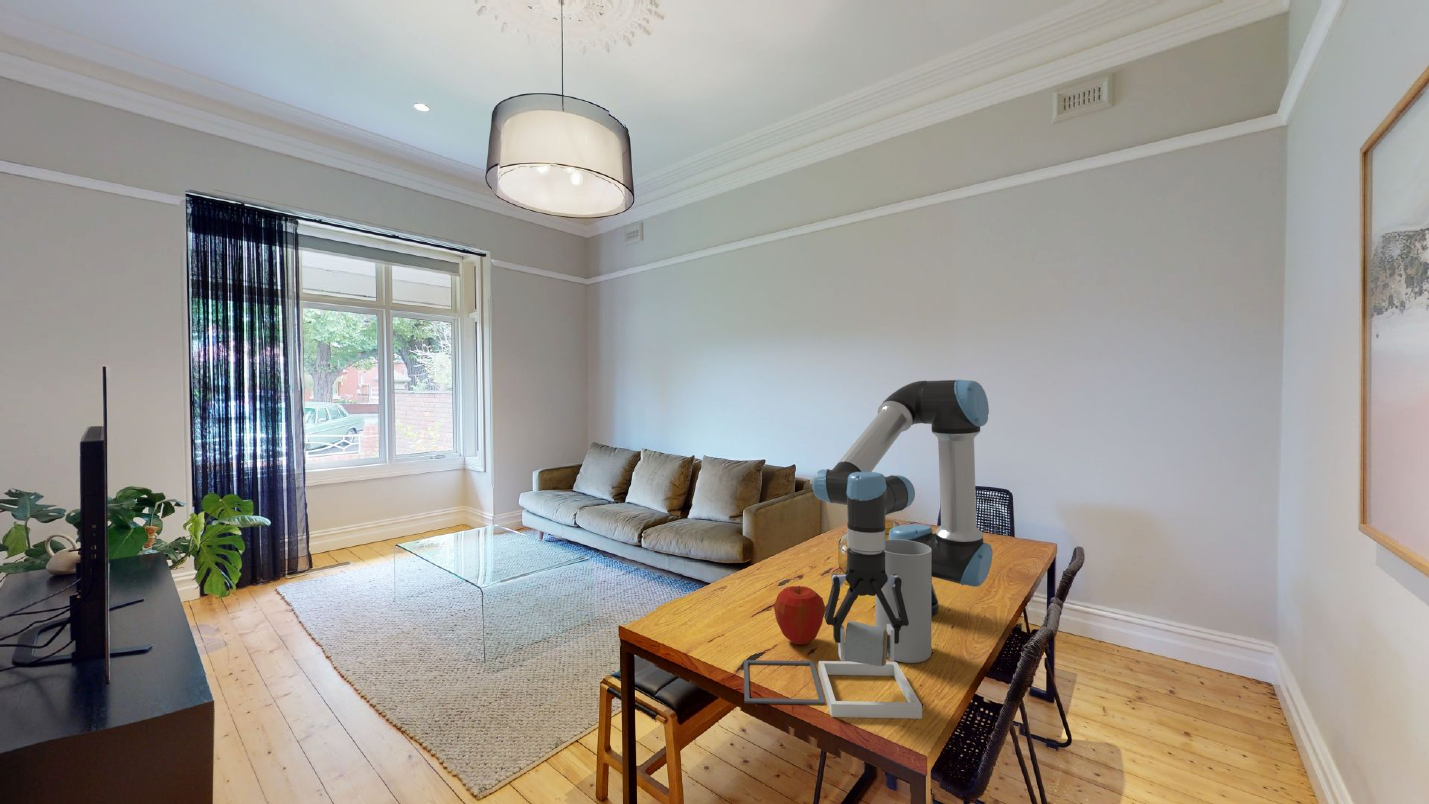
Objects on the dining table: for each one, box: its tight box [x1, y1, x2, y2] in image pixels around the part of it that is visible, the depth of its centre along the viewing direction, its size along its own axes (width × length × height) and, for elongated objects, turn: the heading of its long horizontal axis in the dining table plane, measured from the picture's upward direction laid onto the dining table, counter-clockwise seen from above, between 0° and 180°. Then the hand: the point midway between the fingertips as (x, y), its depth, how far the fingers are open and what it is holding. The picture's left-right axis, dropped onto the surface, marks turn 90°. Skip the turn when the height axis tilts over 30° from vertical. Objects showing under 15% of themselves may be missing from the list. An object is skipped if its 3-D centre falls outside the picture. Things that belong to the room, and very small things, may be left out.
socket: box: [818, 660, 923, 720], centre depth 109 cm, size 17×18×2 cm
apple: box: [773, 585, 826, 646], centre depth 131 cm, size 12×12×14 cm
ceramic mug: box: [844, 620, 888, 666], centre depth 109 cm, size 11×8×8 cm
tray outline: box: [743, 659, 826, 705], centre depth 113 cm, size 16×16×1 cm
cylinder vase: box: [875, 539, 932, 664], centre depth 126 cm, size 12×12×25 cm
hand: (865, 657), depth 108 cm, fingers closed on ceramic mug, 9 cm apart
